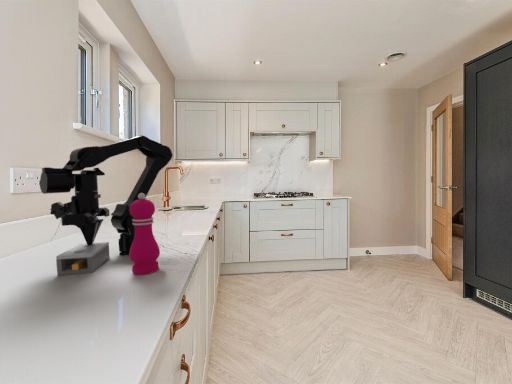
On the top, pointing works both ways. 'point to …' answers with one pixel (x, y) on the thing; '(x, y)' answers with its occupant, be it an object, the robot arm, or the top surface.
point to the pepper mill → (143, 237)
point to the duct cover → (83, 251)
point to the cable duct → (82, 263)
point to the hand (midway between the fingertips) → (90, 245)
